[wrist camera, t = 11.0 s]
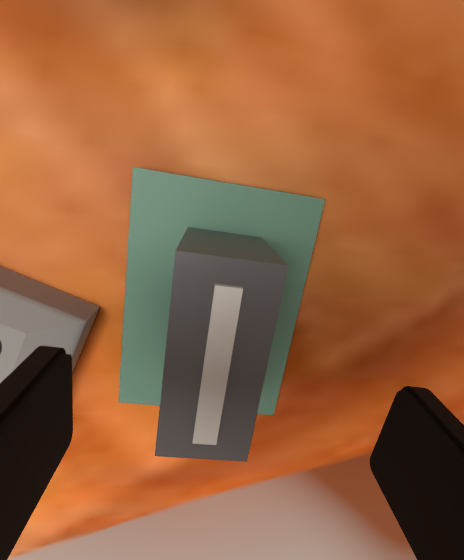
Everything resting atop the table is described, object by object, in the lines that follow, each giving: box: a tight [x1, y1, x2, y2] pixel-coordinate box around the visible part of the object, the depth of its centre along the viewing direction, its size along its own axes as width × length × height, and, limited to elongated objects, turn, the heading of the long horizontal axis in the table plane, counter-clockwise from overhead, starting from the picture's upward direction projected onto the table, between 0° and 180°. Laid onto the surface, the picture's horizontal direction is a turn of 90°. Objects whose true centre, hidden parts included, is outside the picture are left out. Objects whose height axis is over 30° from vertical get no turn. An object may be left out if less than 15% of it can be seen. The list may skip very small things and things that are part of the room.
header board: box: [119, 167, 325, 415], centre depth 17 cm, size 14×10×5 cm
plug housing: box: [155, 227, 288, 462], centre depth 15 cm, size 9×4×6 cm, turn 171°
